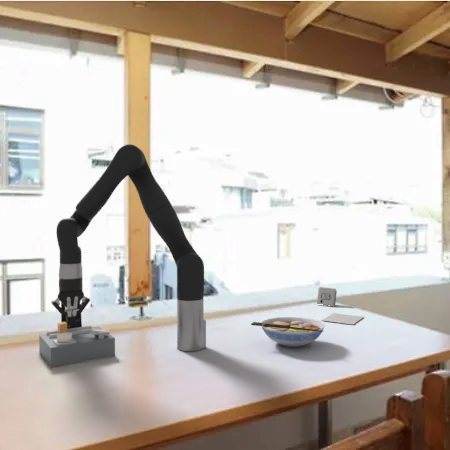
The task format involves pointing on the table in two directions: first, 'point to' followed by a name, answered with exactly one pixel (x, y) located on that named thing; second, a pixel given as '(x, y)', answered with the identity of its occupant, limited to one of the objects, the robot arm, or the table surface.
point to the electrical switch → (326, 296)
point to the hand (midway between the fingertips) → (71, 326)
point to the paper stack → (343, 318)
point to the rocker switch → (98, 331)
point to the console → (76, 347)
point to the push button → (64, 337)
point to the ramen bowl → (291, 330)
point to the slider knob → (62, 327)
